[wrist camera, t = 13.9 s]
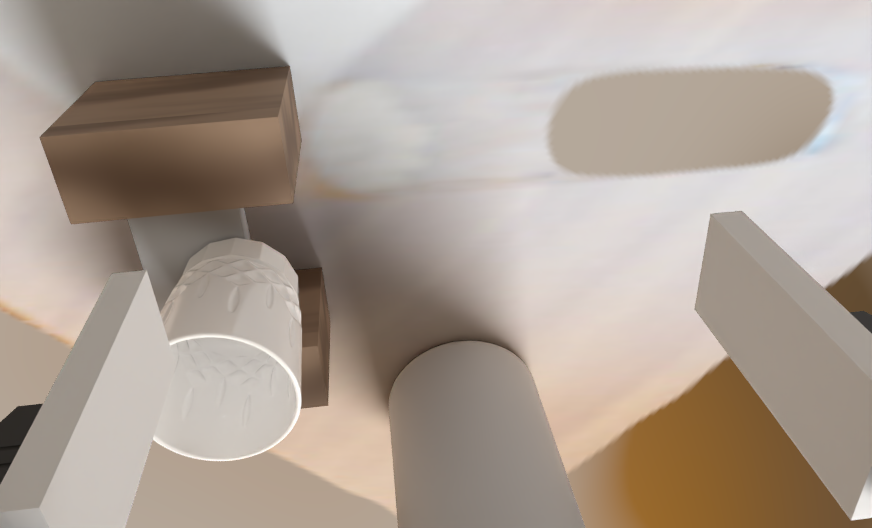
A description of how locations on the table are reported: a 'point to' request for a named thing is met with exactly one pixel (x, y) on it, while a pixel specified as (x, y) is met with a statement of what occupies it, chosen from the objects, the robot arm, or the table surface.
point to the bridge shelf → (189, 175)
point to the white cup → (232, 353)
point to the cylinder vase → (475, 444)
